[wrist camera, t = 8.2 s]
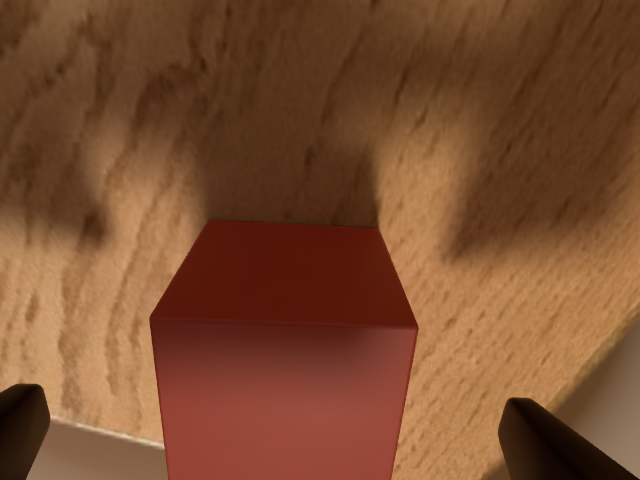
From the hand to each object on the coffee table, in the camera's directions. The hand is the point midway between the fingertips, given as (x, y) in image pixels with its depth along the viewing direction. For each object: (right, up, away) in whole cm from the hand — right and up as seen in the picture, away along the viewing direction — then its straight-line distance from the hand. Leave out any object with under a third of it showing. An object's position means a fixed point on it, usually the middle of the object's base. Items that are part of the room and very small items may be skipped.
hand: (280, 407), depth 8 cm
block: (0, +2, +4) cm, 4 cm away
